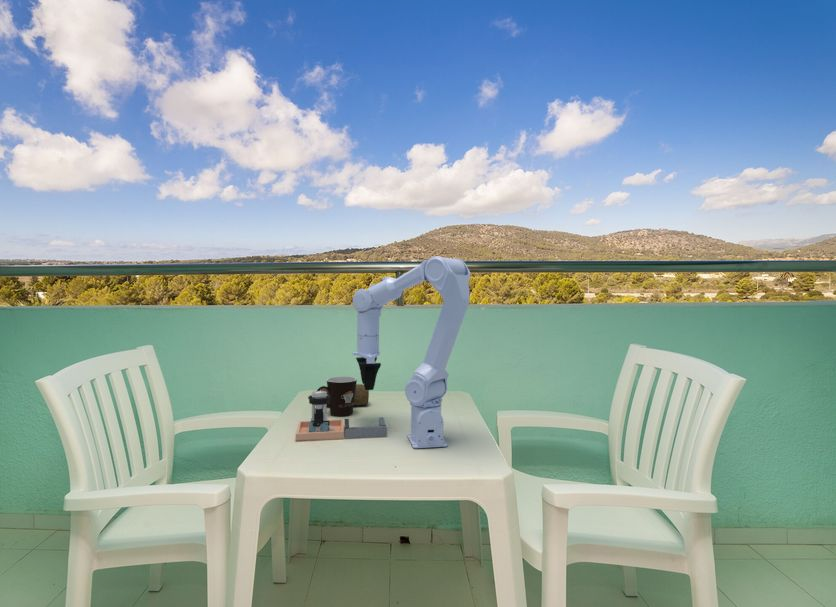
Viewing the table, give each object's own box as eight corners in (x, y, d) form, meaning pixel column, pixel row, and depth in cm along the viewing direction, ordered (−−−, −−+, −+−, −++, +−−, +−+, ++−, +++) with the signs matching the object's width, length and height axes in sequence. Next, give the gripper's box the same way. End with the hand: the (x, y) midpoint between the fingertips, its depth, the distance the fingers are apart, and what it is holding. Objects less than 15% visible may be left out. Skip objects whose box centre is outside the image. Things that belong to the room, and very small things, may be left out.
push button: (337, 429, 114) (337, 390, 114) (332, 436, 109) (333, 395, 108) (311, 428, 114) (311, 389, 114) (305, 435, 109) (305, 394, 108)
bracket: (386, 436, 110) (386, 427, 109) (345, 438, 108) (345, 428, 108) (382, 426, 118) (382, 417, 118) (344, 428, 116) (344, 418, 116)
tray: (343, 439, 107) (343, 431, 107) (295, 441, 105) (295, 433, 105) (342, 426, 117) (342, 419, 117) (298, 428, 115) (298, 421, 115)
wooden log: (368, 402, 143) (368, 381, 143) (370, 408, 137) (370, 386, 136) (320, 404, 141) (320, 382, 140) (319, 409, 134) (320, 387, 134)
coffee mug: (354, 409, 135) (354, 376, 134) (358, 416, 126) (358, 381, 126) (315, 411, 132) (315, 377, 131) (316, 419, 123) (316, 383, 123)
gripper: (351, 332, 124) (350, 381, 124) (354, 338, 110) (354, 393, 110) (376, 332, 125) (376, 380, 126) (383, 338, 111) (382, 392, 111)
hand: (367, 386), depth 118 cm, fingers open, 7 cm apart
